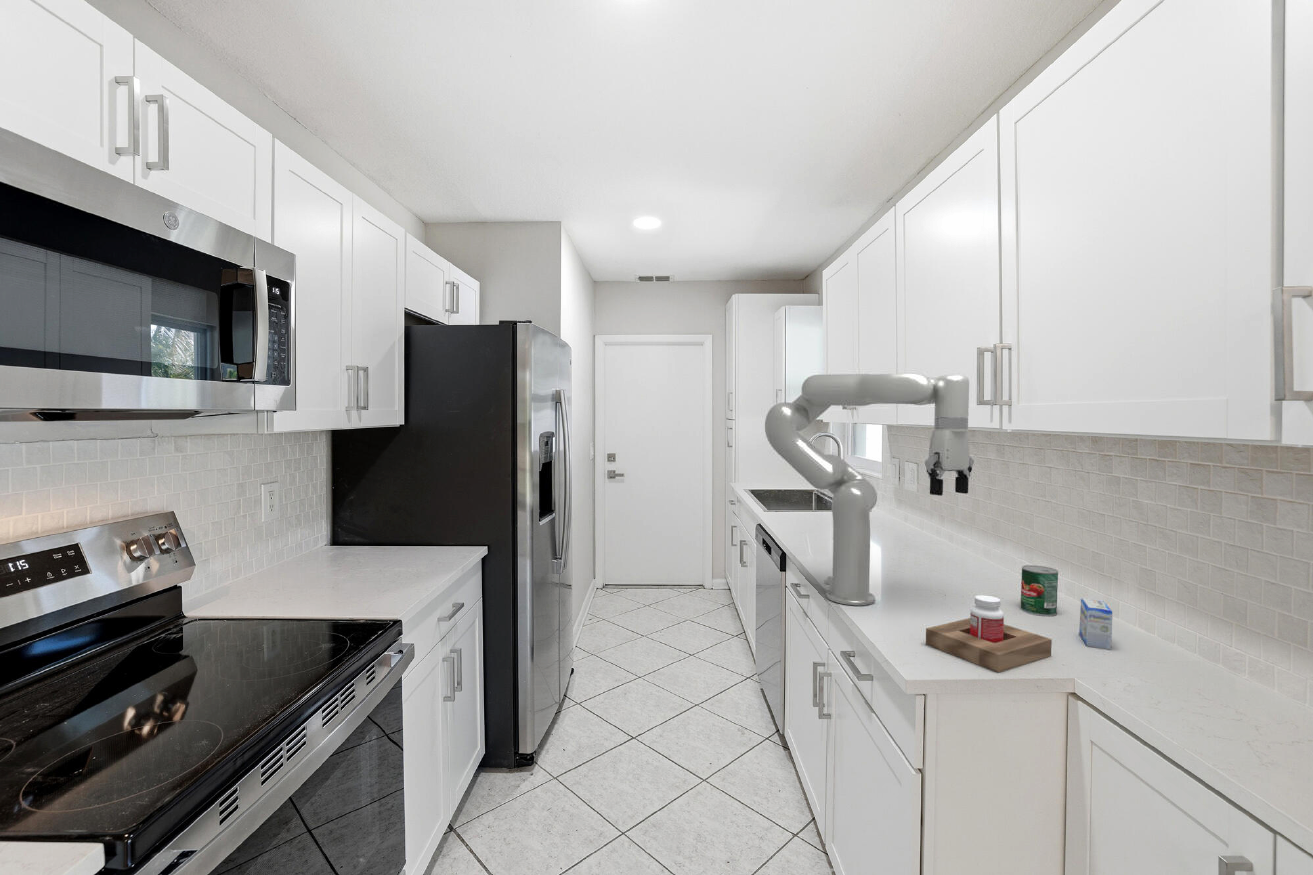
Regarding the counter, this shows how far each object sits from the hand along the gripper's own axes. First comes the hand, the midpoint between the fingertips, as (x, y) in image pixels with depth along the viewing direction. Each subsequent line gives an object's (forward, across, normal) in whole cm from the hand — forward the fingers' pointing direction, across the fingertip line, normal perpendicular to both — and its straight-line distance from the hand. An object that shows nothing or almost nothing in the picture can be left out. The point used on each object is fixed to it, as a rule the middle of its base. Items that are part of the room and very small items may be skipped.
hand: (949, 493), depth 147 cm
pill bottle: (+31, +13, +19) cm, 38 cm away
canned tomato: (+31, -24, +9) cm, 40 cm away
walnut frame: (+30, +13, +19) cm, 38 cm away
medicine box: (+31, -13, +27) cm, 43 cm away
